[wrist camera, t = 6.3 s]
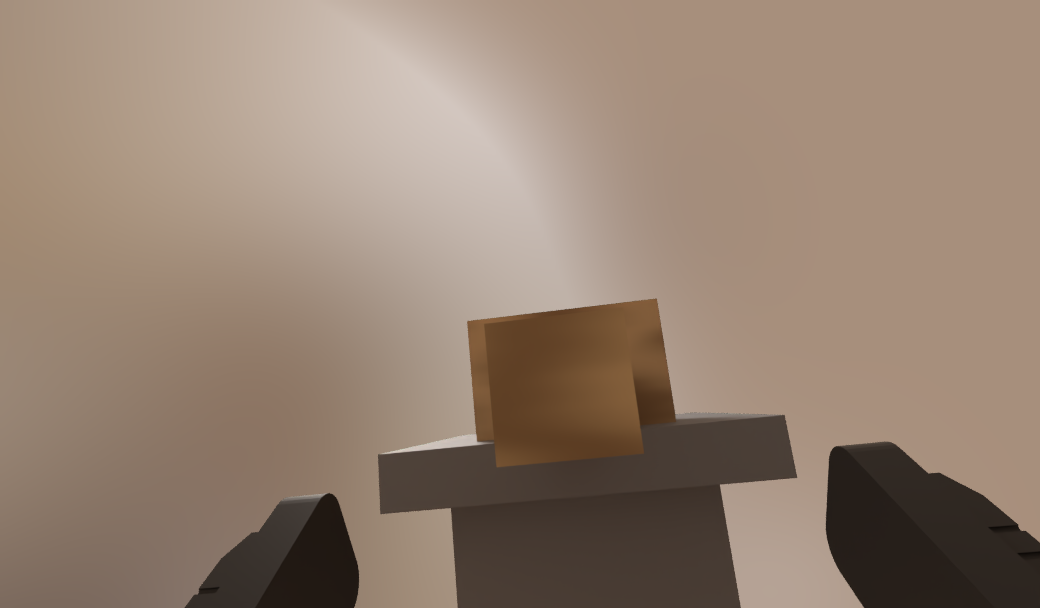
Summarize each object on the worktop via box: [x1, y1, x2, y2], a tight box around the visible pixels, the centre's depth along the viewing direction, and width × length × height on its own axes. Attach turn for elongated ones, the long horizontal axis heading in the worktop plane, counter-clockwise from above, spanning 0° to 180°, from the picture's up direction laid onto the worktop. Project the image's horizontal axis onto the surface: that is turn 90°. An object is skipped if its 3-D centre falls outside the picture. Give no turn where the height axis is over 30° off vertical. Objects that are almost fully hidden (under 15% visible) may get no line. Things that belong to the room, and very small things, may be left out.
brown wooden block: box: [467, 299, 676, 467], centre depth 18 cm, size 8×17×5 cm, turn 174°
